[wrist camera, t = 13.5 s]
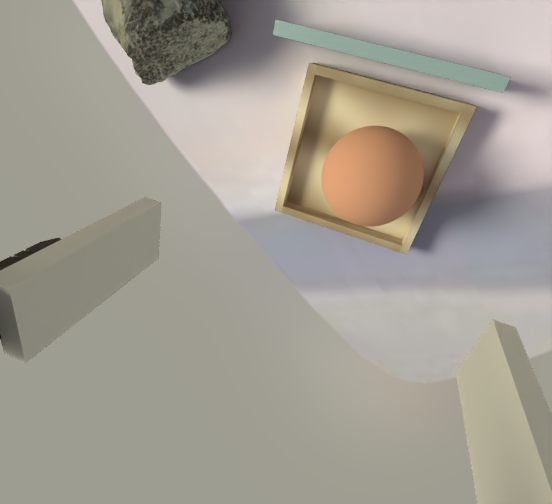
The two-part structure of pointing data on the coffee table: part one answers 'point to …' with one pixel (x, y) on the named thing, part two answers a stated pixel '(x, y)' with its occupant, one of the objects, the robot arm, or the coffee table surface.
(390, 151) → the ball
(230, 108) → the coffee table surface
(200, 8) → the stone
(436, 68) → the wall
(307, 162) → the tray
